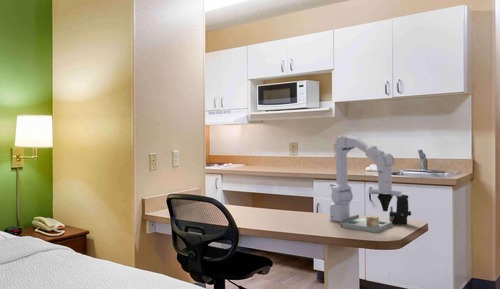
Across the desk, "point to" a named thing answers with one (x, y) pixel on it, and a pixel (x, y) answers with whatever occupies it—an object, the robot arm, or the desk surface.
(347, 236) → the desk surface
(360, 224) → the board
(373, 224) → the block
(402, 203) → the scope
